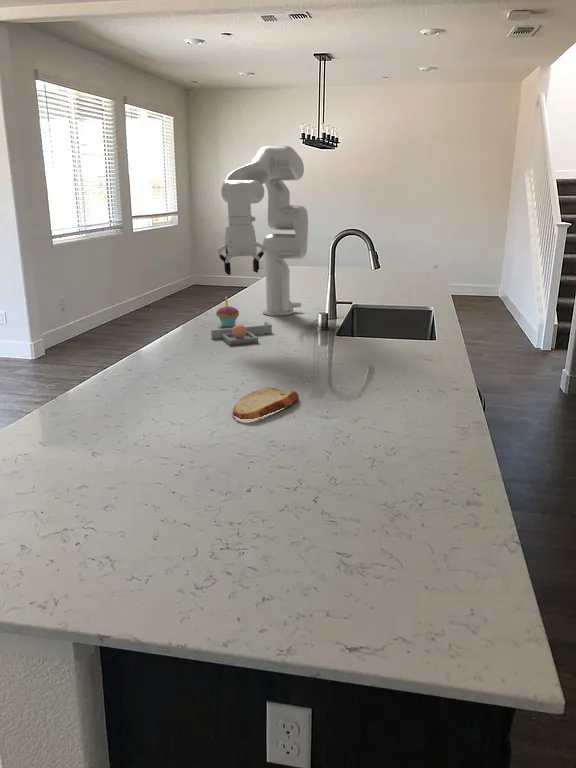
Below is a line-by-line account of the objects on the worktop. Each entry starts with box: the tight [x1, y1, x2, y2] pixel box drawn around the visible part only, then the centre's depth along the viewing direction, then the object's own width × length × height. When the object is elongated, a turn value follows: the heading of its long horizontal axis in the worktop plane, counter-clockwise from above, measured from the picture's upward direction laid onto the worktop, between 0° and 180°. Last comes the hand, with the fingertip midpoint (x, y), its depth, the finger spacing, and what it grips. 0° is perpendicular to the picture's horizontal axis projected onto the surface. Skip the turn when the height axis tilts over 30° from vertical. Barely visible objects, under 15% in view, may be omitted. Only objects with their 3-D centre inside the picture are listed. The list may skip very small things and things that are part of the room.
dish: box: [221, 331, 259, 347], centre depth 218 cm, size 10×10×2 cm
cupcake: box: [215, 295, 240, 328], centre depth 240 cm, size 9×8×12 cm
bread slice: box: [232, 386, 300, 419], centre depth 156 cm, size 18×18×4 cm
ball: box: [232, 323, 247, 339], centre depth 218 cm, size 5×5×5 cm
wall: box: [210, 321, 273, 340], centre depth 228 cm, size 22×6×3 cm, turn 111°
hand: (242, 273), depth 217 cm, fingers open, 9 cm apart
